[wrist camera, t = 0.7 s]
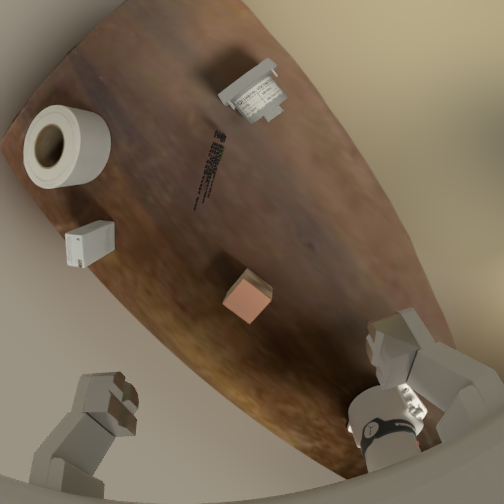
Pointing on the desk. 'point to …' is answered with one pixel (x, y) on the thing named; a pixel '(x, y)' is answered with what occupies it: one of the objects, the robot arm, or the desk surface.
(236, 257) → the desk surface
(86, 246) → the skincare box
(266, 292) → the birch cube
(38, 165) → the roll of tape
